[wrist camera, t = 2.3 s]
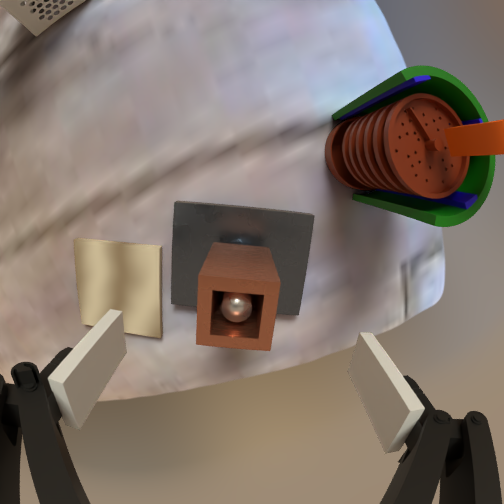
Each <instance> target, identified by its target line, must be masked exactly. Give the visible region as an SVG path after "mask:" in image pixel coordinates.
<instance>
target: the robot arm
mask: <svg viewBox="0 0 504 504" xmlns="http://www.w3.org/2000/svg"><path fill="white" fill-rule="evenodd" d="M126 353H127V351H126V343H125V334H124V324H123V312H122V311H118V310H113V309H110V310H109V311H108V312H107V313H106V314H105V315H104V316H103V317H102V318H101V319H100V320H99V322H98V323H97V324H96V325H95V326H94V327H93V328H92V329H91V330H90V331H89V332H88V333H87V334H86V335H85V337H84V338H83V339H82V340H81V341H80V342H79V343H78V344H77V345H76V346H75V348H74V349H73V348H70V347H67V348H65V349H64V350H62V351H60V352H59V353H58V354H57V355H56V356H55V358H53V359H52V361H51V362H50V363H49V364H48V365H47V366H46V367H45V368H44V369H43V370H42V371H41V373H40V374H39V371H38V368H37V366H36V365H35V364H34V363H31V362H21V363H18V364H16V365H15V366H14V367H13V368H12V369H11V375H12V378H13V381H14V383H15V384H9V383H6V382H5V380H4V378H3V376H2V375H1V374H0V504H20V485H19V484H20V455H21V441H22V434H23V440H24V445H25V450H26V455H27V459H28V463H29V468H30V472H31V475H32V479H33V482H34V486H35V489H36V492H37V496H38V499H39V502H40V504H90V502H89V500H88V498H87V496H86V493H85V491H84V489H83V487H82V485H81V483H80V480H79V478H78V476H77V473H76V470H75V468H74V465H73V463H72V460H71V457H70V454H69V452H68V449H67V446H66V443H65V440H64V437H63V434H62V431H61V427H60V425H59V422H58V421H59V420H60V418H61V417H62V418H63V420H64V422H65V424H66V425H67V426H70V427H73V428H75V429H78V430H80V429H81V427H82V425H83V424H84V422H85V420H86V418H87V417H88V415H89V413H90V412H91V410H92V408H93V406H94V405H95V403H96V401H97V400H98V398H99V396H100V395H101V393H102V391H103V390H104V388H105V387H106V385H107V383H108V382H109V380H110V378H111V377H112V375H113V373H114V372H115V370H116V369H117V367H118V365H119V364H120V362H121V361H122V359H123V357H124V356H125V354H126ZM348 373H349V376H350V378H351V380H352V382H353V384H354V386H355V388H356V390H357V393H358V395H359V396H360V399H361V401H362V403H363V405H364V408H365V410H366V412H367V414H368V416H369V419H370V421H371V423H372V425H373V427H374V430H375V432H376V434H377V436H378V439H379V441H380V443H381V445H382V447H383V450H384V452H385V453H390V452H395V451H399V450H400V449H401V447H402V446H403V444H404V443H406V445H407V447H408V448H407V450H406V451H405V453H404V454H403V455H402V457H401V459H400V460H399V461H398V462H399V463H400V464H399V467H398V469H397V471H396V473H395V475H394V477H393V479H392V481H391V483H390V485H389V487H388V489H387V491H386V493H385V495H384V497H383V499H382V501H381V502H380V504H432V501H433V498H434V495H435V492H436V489H437V486H438V483H439V480H440V500H439V504H502V498H501V488H500V481H499V473H498V467H497V461H496V456H495V451H494V446H493V442H492V437H491V432H490V428H489V425H488V420H487V418H486V417H485V416H484V415H483V414H482V413H480V412H477V411H470V412H469V413H467V415H466V416H465V418H464V419H452V417H451V416H450V415H449V414H448V413H447V412H444V411H442V410H435V408H434V407H433V406H432V404H431V403H430V401H429V400H428V398H427V397H426V396H425V394H423V391H422V390H421V389H419V386H418V384H417V383H416V382H415V381H414V380H413V379H411V378H410V377H409V376H408V375H407V376H402V374H401V373H400V371H399V370H398V369H397V367H396V366H395V364H394V363H393V362H392V360H391V359H390V357H389V356H388V355H387V353H386V352H385V351H384V349H383V348H382V346H381V345H380V344H379V342H378V341H377V340H376V338H375V337H374V335H373V334H372V333H359V336H358V340H357V343H356V347H355V350H354V353H353V356H352V360H351V363H350V366H349V369H348Z"/></svg>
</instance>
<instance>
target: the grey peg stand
mask: <svg viewBox="0 0 504 504" xmlns="http://www.w3.org/2000/svg"><path fill="white" fill-rule="evenodd" d="M313 223H314V215H313V214H310V213H302V212H293V211H284V210H275V209H266V208H256V207H246V206H235V205H224V204H213V203H200V202H187V201H176V202H175V203H174V219H173V240H172V275H171V304H177V305H185V306H194V307H197V297H198V275H199V273H200V270H201V268H202V266H203V264H204V262H205V260H206V257H207V255H208V253H209V251H210V249H211V247H212V244H213V242H217V243H228V244H239V245H250V246H260V247H269V249H270V252H271V255H272V258H273V261H274V264H275V267H276V270H277V273H278V276H279V279H280V282H281V284H280V291H279V298H278V304H277V311H276V314H286V315H299V310H300V305H301V299H302V294H303V288H304V282H305V276H306V270H307V263H308V257H309V250H310V244H311V237H312V230H313ZM251 311H252V305H251V294H248V293H237V292H226V291H224V296H223V302H222V313H223V315H224V316H225V318H226V319H228V320H230V321H232V322H241V321H244V320H246V319H247V318H248V317H249V316H250V314H251Z"/></svg>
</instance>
